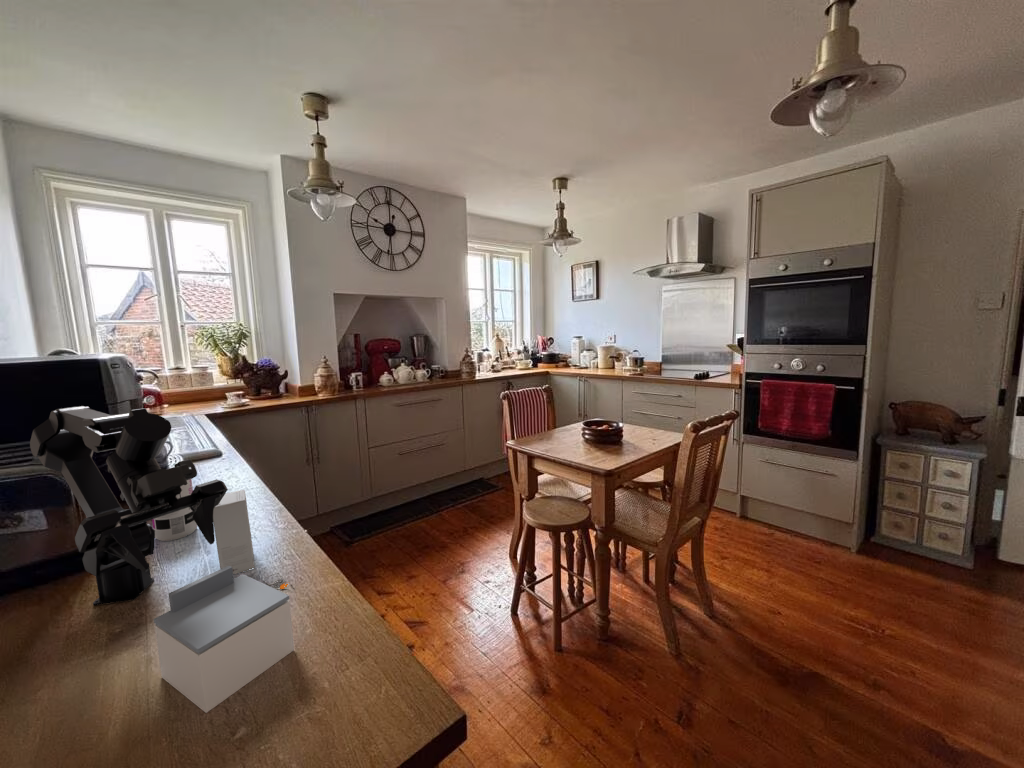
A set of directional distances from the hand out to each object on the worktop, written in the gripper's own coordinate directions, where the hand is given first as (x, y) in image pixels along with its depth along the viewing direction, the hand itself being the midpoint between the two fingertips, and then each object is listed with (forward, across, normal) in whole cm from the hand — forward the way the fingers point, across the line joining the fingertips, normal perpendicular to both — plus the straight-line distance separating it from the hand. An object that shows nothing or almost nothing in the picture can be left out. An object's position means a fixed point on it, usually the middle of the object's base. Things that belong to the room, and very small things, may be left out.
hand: (181, 555), depth 66 cm
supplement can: (-19, +17, +40) cm, 47 cm away
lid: (+12, -1, -6) cm, 14 cm away
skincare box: (0, +15, +19) cm, 25 cm away
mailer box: (+18, -1, 0) cm, 18 cm away
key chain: (+11, +13, +8) cm, 19 cm away
